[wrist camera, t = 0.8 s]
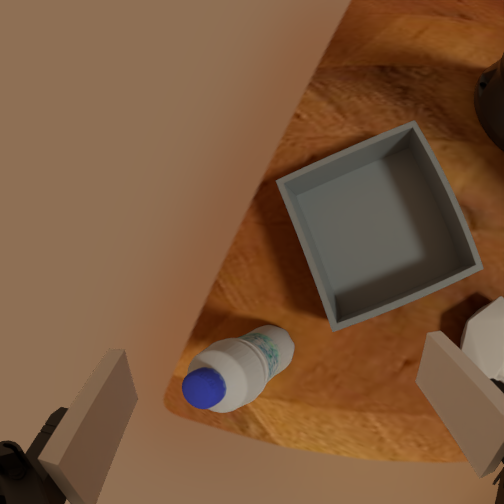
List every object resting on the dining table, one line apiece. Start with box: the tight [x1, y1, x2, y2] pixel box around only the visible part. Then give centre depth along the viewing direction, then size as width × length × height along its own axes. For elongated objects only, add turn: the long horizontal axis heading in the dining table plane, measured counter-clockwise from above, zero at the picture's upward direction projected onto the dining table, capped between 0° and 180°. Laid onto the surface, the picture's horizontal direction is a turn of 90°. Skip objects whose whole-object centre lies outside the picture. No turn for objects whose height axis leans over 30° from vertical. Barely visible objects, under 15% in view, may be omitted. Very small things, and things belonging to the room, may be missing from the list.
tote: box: [276, 120, 483, 332], centre depth 34 cm, size 18×18×7 cm
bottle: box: [182, 325, 294, 412], centre depth 32 cm, size 7×7×20 cm
